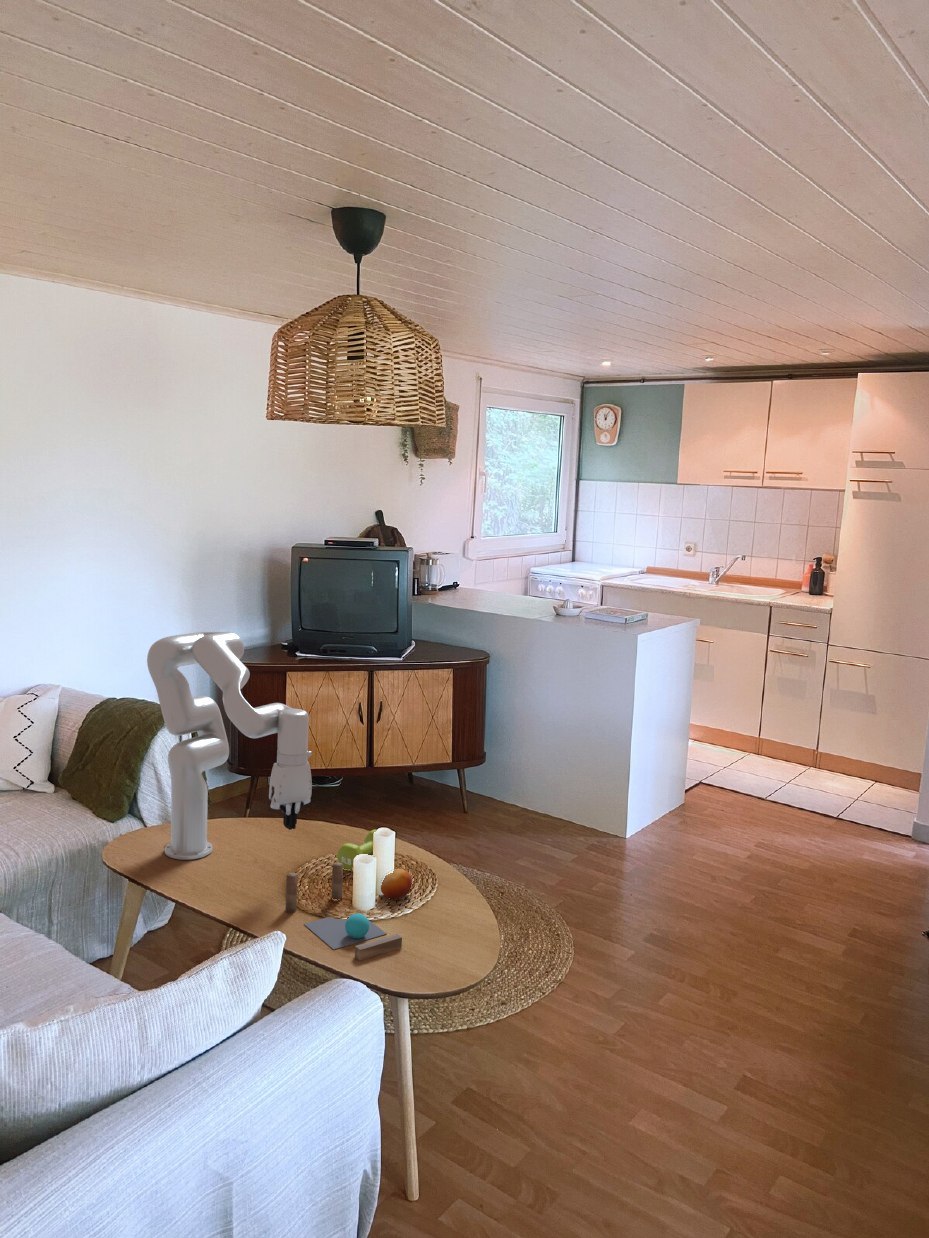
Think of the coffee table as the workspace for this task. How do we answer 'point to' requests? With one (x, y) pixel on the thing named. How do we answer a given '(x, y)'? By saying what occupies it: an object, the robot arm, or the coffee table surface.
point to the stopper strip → (378, 947)
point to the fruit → (397, 884)
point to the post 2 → (337, 880)
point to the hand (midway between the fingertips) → (289, 827)
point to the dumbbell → (355, 851)
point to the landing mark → (340, 932)
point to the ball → (357, 926)
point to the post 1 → (291, 892)
